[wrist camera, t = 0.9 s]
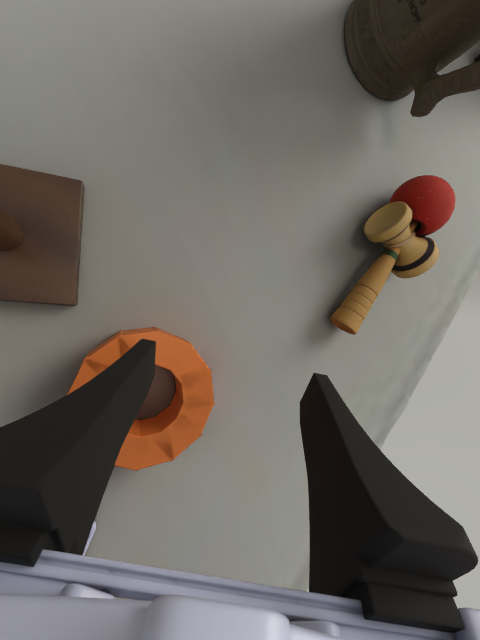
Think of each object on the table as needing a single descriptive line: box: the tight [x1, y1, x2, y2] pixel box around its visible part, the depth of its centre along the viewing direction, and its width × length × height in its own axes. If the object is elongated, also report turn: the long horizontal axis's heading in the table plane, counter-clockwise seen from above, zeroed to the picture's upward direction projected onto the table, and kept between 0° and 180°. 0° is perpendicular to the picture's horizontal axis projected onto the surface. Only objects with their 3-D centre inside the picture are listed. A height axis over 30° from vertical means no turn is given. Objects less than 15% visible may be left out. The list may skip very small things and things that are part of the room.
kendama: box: [330, 175, 455, 334], centre depth 31 cm, size 8×6×18 cm
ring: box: [67, 327, 214, 471], centre depth 23 cm, size 10×10×3 cm
